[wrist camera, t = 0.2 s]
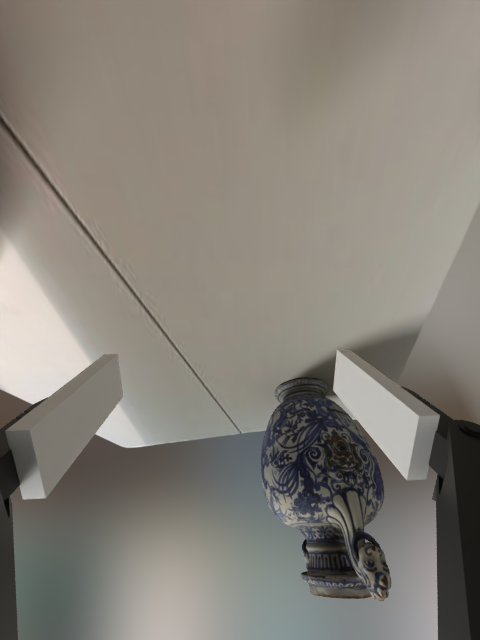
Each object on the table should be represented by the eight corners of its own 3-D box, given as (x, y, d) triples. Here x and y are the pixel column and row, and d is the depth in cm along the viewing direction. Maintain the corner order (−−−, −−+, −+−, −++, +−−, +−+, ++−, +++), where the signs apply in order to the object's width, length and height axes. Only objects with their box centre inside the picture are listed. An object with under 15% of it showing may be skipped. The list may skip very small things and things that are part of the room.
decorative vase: (325, 412, 59) (368, 583, 40) (248, 410, 57) (256, 588, 38) (370, 364, 44) (477, 604, 25) (267, 358, 42) (296, 614, 23)
